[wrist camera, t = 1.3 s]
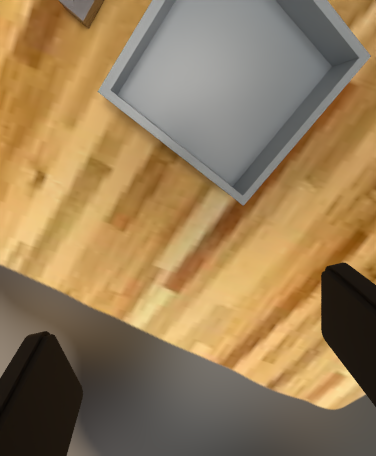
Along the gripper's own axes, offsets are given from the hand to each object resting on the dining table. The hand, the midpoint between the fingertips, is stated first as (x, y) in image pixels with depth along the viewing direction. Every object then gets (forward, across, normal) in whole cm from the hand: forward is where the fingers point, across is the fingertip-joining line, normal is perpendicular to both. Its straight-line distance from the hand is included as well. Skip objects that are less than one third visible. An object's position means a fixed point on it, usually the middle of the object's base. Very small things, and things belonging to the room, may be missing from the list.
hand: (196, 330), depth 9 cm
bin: (+25, -8, -9) cm, 28 cm away
